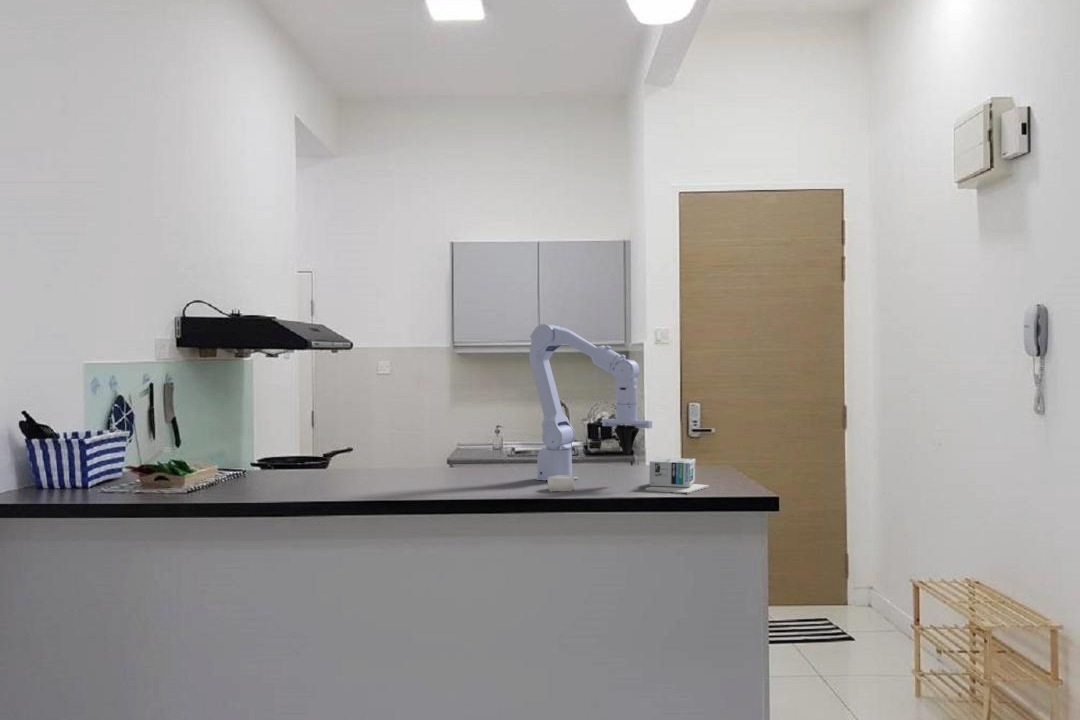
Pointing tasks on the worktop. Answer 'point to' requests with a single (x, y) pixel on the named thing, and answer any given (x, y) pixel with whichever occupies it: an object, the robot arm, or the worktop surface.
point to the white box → (678, 488)
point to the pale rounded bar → (561, 483)
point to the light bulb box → (672, 472)
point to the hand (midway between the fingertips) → (627, 453)
